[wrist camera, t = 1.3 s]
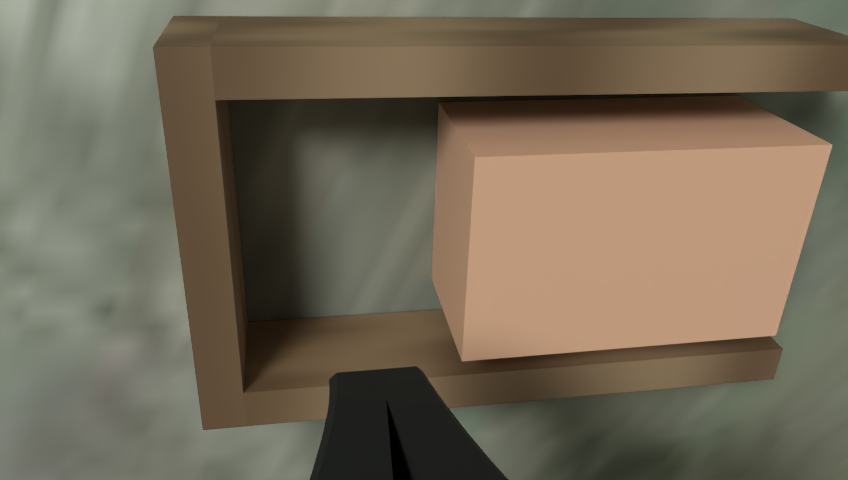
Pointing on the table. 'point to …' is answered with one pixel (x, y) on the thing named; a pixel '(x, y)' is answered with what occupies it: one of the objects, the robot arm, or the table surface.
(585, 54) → the walnut cubby
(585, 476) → the table surface
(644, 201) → the terracotta brick
